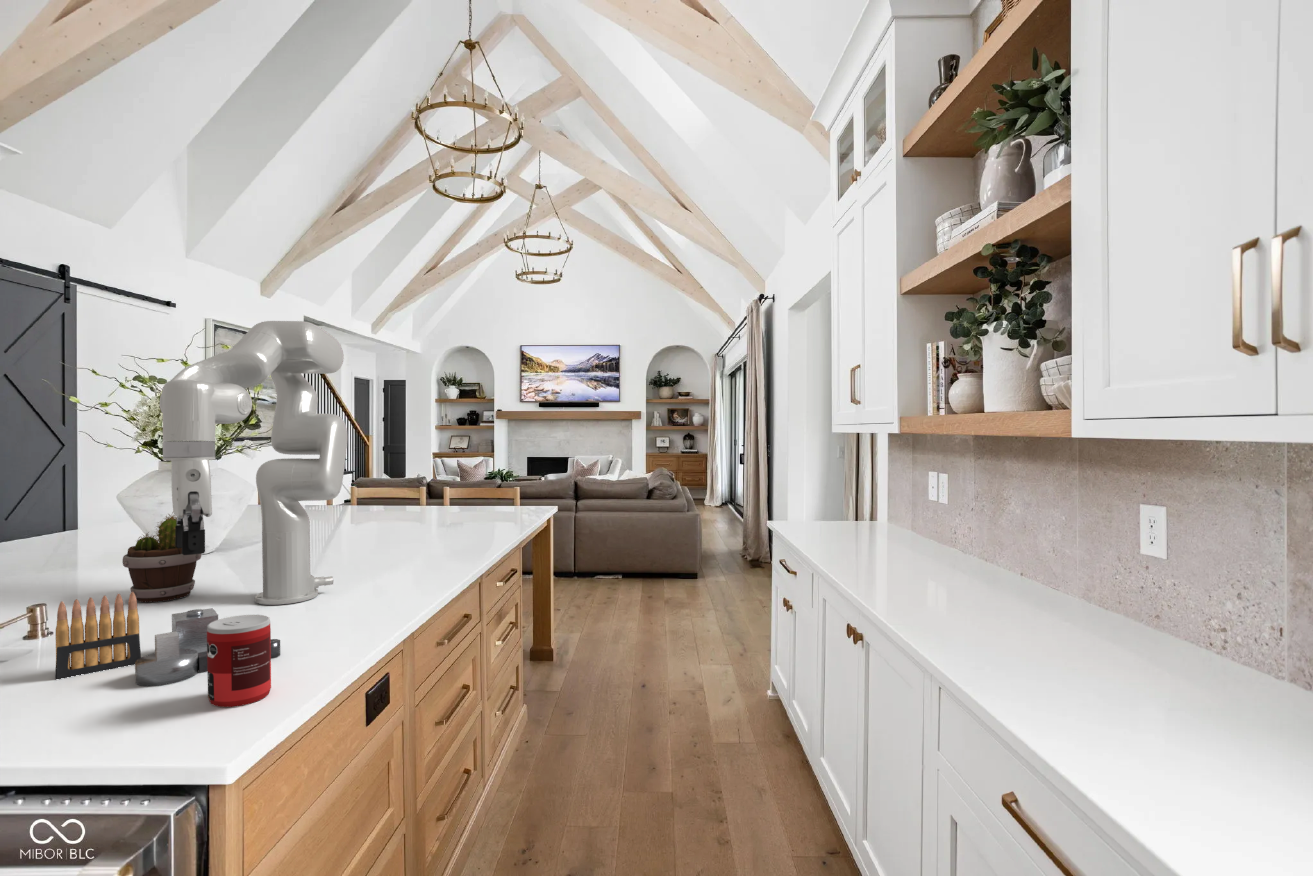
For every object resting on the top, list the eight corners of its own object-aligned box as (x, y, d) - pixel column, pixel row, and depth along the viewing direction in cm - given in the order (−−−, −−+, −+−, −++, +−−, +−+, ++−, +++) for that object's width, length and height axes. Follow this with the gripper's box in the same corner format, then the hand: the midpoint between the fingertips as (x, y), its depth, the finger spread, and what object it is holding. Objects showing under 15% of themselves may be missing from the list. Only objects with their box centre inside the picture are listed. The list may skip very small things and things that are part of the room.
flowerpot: (109, 600, 154) (107, 511, 153) (185, 586, 167) (183, 504, 167) (138, 609, 146) (137, 516, 146) (216, 594, 159) (214, 508, 159)
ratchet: (274, 648, 121) (274, 611, 120) (285, 660, 114) (285, 621, 114) (133, 675, 108) (132, 634, 107) (137, 690, 102) (136, 646, 101)
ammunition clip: (55, 680, 106) (53, 603, 106) (55, 677, 107) (53, 601, 107) (141, 664, 113) (140, 591, 113) (140, 661, 115) (138, 589, 114)
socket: (213, 644, 123) (212, 604, 123) (218, 652, 118) (218, 611, 118) (172, 651, 119) (171, 610, 119) (176, 660, 115) (175, 618, 114)
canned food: (225, 688, 102) (224, 614, 102) (281, 686, 103) (280, 613, 103) (195, 709, 95) (194, 630, 95) (256, 707, 95) (254, 628, 95)
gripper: (222, 452, 115) (223, 554, 115) (208, 451, 128) (208, 542, 128) (168, 452, 110) (168, 559, 110) (158, 451, 123) (158, 547, 123)
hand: (189, 550), depth 119 cm, fingers open, 9 cm apart
